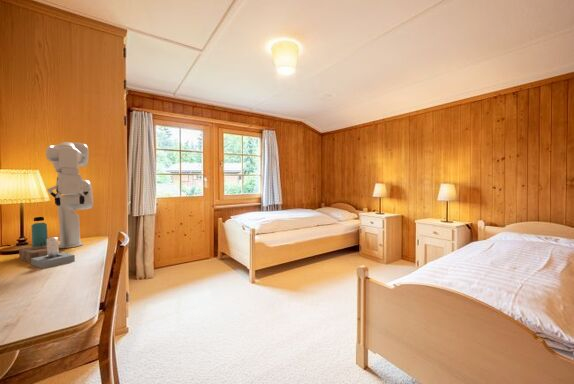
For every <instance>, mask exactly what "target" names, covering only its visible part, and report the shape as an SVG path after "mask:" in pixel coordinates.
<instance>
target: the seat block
mask: <svg viewBox="0 0 574 384" xmlns="http://www.w3.org/2000/svg"><path fill="white" fill-rule="evenodd" d="M75 259H76V257H75V255H74V254H71V253H68V252H64V251H63V252H59V257H55V258H50V259H47V255H46V256H41V257H36V258H31V263H30V264H31V266H34V267H36V268H39V269H47V268H49V267H55V266H58V265H63V264H68V263H72V262H75V261H76V260H75Z"/></svg>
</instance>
